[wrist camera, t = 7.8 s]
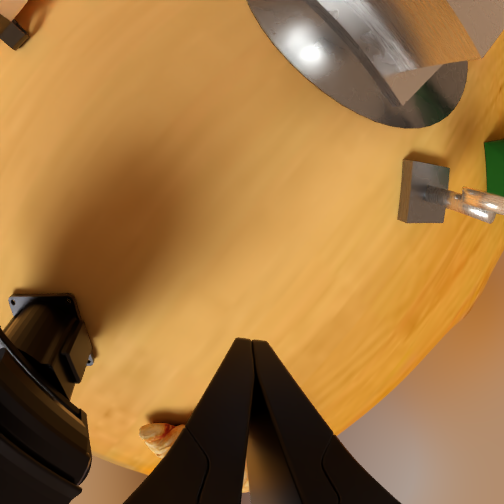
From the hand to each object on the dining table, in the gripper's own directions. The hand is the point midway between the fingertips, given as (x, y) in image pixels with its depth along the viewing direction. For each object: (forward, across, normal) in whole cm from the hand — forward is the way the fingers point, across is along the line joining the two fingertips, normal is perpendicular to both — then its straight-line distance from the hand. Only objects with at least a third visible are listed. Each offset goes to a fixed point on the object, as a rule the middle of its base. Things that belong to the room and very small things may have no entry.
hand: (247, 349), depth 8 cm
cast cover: (+16, -8, -20) cm, 27 cm away
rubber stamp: (+15, -14, -4) cm, 21 cm away
